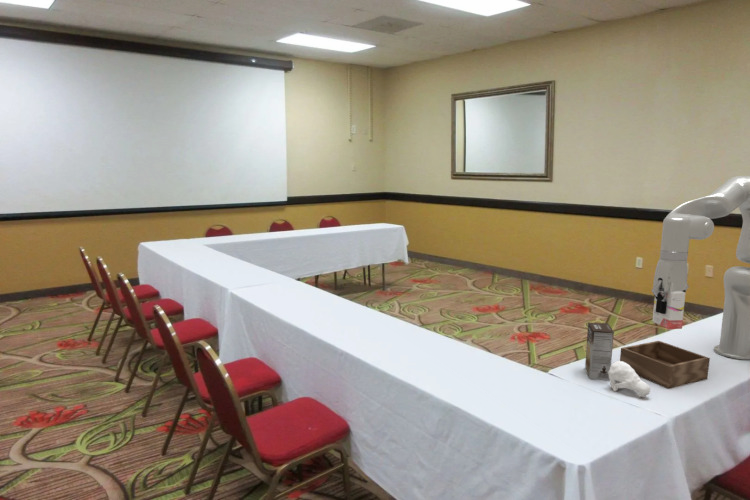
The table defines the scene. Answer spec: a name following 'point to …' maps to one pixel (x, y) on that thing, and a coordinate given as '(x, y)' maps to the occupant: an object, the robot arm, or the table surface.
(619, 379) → the white figurine
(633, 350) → the walnut box
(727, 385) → the table surface
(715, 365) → the table surface
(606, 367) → the coffee box
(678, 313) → the ink cartridge box
